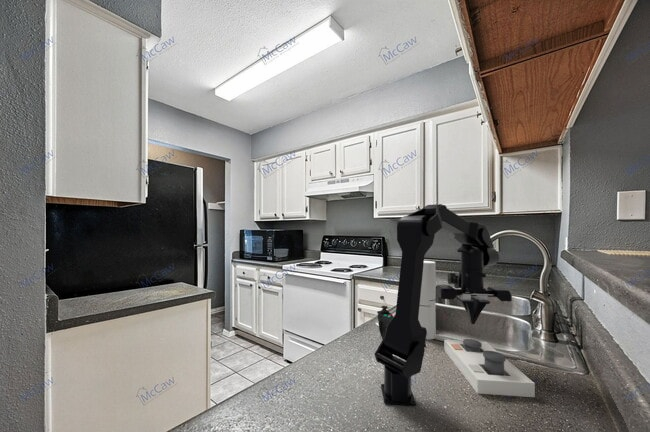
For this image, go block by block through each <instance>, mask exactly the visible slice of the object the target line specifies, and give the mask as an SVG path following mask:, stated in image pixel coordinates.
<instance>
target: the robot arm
mask: <svg viewBox="0 0 650 432" xmlns="http://www.w3.org/2000/svg"><path fill="white" fill-rule="evenodd" d="M442 228H443V229H445V230H446V231H448V232H450V233H452V234H453V235H454V237H453V238H454V239H455V240H456V241H457V242H458V243H460V244H461V246H460V247H458V249H457V250H456V251H457V252H458V253H460V269H459V271H458V275H457V274H456V273H455V272H449V273H447V284H448V285H446V284H443V285H442V284H438V285H437V286H436V296H437V297H438V298H440V300H441V299H442V300H455V299H456V300H458V301H460V302H461V304H462V306H463V307H464V309H465V313H466V316H467V318H468V320H469V324H471V325H475V324H476V322H477V320H478V318H479V316H480V315H481V313H482V312H483V310H484V308H485V307H486V306H487V305H489V304H491V301H489V300H488V298H497V299H498V301H500V302H512V301H513V295H512V293H511V291H510V290H509V289H506V288H503V287H501V286H488V287H487V288H485V287H484V286H485V285H484V281H485V280H484V278H486V277H487V276H486V275H487V273H485V272H484V267H492V266H495V265H496V264H498V263H499V260H500V255H499V252H498V250H497V249H496V248H494V244H493V241H492V238H491V235H490V232H489V230H488V229H487V226H486V225H485V224H482V223H480V222H475V221H469V220H466V219H464V218H463V217H462V216H460V215H458V214H456V213H455V212H453V210H450V209H449V208H448V207H447V206H446V205H445V204H441V203H437V204H436V203H435V204H427V205H425V206H423V207H422V208H420V209H418V210H416V211H414V212H411V213H409V214H408V215H404V216H402V217H401V218H400V219H398V221H397V223H396V242H397V244H398V245H399V248H400V251H401V260H400V269H399V277H398V278H399V279H398V288H397V296H396V297H397V298H396V308H395V314H394V316H393V318H392V320H391V321H390V322H389V324H388V325H387V329H386V334H385V337H384V339H383V338H382V340H381V342H380V344H379V345H378V347H377V349H376V351H375V352H374V358H375V361H376V362H377V363H379V364H381V365H383V367H384V369H383V371H384V372H383V375H384V376H383V383H381V384H380V388H381V394H382V398H383V403H384V404H388V405H400V406H401V405H402V406H416V405H417V403H416V399H415V397H414V394H413V391H412V377H413V376H415V375H417V374H419V373H421V370H422V365H423V362H424V361H423V360H424V356H425V351H426V349H425V348H427V345H426V341H427V339H426V335H427V331H426V328H424V327H422V326H421V325H420V322H419V320H418V316H419V306H420V295H421V285H422V275H423V265H424V261H425V255H426V254H427V253H428V251H429V250H430V248H431V247H432V246H433V244H434V239H435V235H436V233H438V232H439V231H440V230H441V229H442ZM451 285H454V286H451Z"/></svg>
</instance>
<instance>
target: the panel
mask: <svg viewBox="0 0 650 432" xmlns="http://www.w3.org/2000/svg"><path fill="white" fill-rule="evenodd" d="M480 342H481V344H482V347H480V352H467V351H466V350H465V349H464V344H463V340H455V339H444V341H443V345H444V346H443V349H444V352H445V353H446V354H447V355H448V357H449V358H450V359H451V360H452V362H453V363H454V365H455V366H456V367H457V369H458V370H459V371H460V373H461V374H462V375H463V376H464V378H465V379H466V381H467V382H468V383H469V385H470V386H471V387H472V388H473V389H474V391H475V392H476V393H477V394H478V395H479V394H481V395H492V396H493V395H494V396H495V395H496V396H509V397H511V396H512V397H527V398H536V396H535V395H536V389H535V388H536V386H535V385H536V383H535V382H534V381H533V380H531V379H530V378H529V377H528V376H527V375H526V374H524V373H523V372H522V371H521V370H519V368H517V367H516V366H515V365H514V364H513V363H511V361H509V360H508V359H507V358H506V360H505V362H504V376H500V375H488V374H487V373H486V372H485V357H484V356H483V352H484V351H495V352H498V350H496V349H495V348H494V347H493V346H492V345H490V344H489V343H488V342H486V341H480Z"/></svg>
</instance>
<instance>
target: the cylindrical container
mask: <svg viewBox="0 0 650 432" xmlns="http://www.w3.org/2000/svg"><path fill="white" fill-rule="evenodd" d="M436 268H437V265H436V261H433V260H432V261H431V260H424V265H423V275H422V285H421V295H420V306H419V316H418V320H419V322H420V325H421V326H422V327H424V328H426V331H427V335H426V341H427V340H434V339H436V337H435V336H436V335H437V334H436V332H437V331H436V327H437V326H436V318H437V317H436V310H437V309H436V306H437V305H436V304H437V301H436V296H437V295H436V287H437V286H436V285H437V284H436V280H437V279H436V277H437V275H436V273H437V272H436V271H437V270H436Z"/></svg>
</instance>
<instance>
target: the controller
mask: <svg viewBox="0 0 650 432" xmlns="http://www.w3.org/2000/svg"><path fill="white" fill-rule="evenodd" d="M380 307H381V309H380V310H377V312H376V313H377V321H378V322H377V323H378V330H379V334H380V337H381V338H382V340H383V339H384V337H385V334H386V329H387V325H388V324H389V322H390V321H391V320H392V318H393V317H394V316H393V315H394V314H392V313H391V312H390V311H389V310H388V305H381V306H380Z"/></svg>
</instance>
